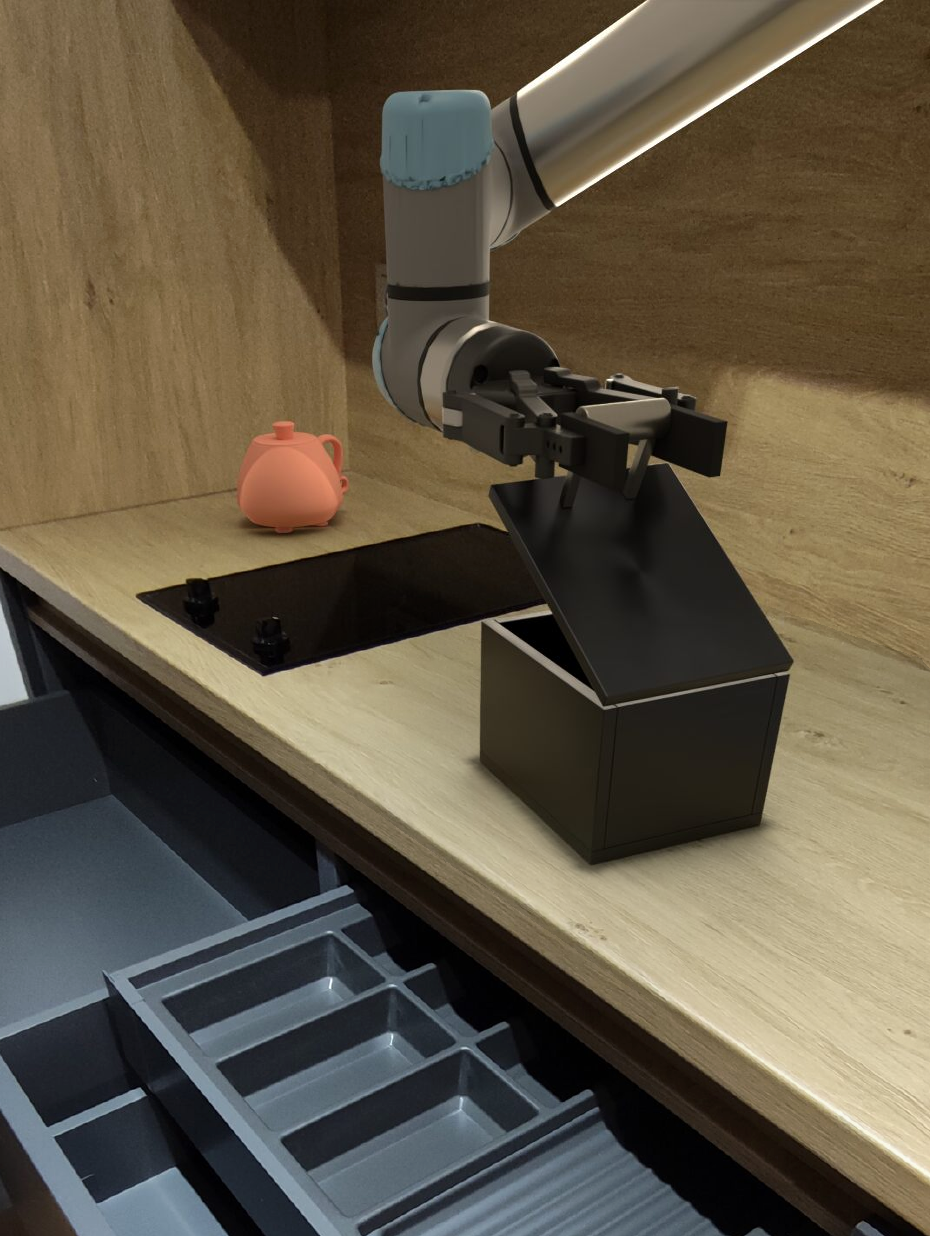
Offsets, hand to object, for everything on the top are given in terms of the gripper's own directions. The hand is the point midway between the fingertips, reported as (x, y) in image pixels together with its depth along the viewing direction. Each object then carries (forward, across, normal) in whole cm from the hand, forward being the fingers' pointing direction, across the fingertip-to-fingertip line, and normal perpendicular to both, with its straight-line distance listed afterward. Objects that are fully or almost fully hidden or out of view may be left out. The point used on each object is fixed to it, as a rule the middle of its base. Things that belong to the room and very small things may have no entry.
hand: (669, 455), depth 61 cm
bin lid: (-2, 0, -7) cm, 7 cm away
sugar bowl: (-80, -2, -21) cm, 83 cm away
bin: (-3, 0, -21) cm, 21 cm away
